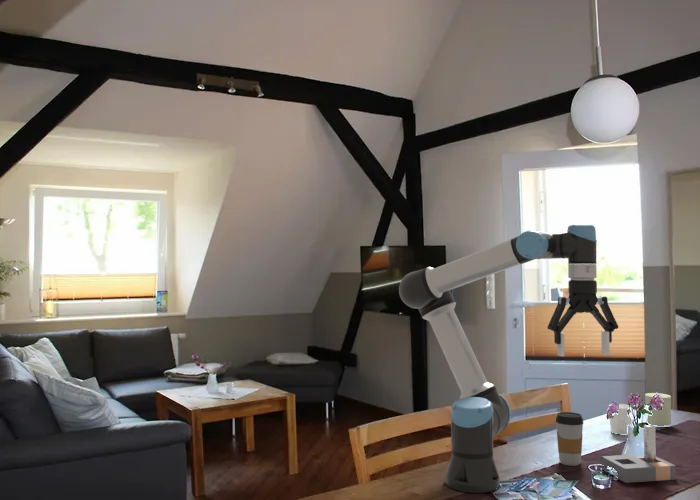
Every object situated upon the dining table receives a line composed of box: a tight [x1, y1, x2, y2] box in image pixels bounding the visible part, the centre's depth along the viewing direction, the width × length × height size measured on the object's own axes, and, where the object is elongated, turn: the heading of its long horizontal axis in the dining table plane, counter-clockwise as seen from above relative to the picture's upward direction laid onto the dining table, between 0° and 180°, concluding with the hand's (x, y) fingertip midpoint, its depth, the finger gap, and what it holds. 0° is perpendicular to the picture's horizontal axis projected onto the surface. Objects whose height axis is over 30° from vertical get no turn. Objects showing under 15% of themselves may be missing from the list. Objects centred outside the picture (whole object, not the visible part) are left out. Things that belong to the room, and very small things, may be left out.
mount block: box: [601, 454, 677, 484], centre depth 191 cm, size 16×12×4 cm
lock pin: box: [643, 424, 657, 463], centre depth 192 cm, size 3×3×14 cm
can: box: [644, 392, 672, 426], centre depth 249 cm, size 9×9×12 cm
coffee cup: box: [555, 411, 584, 466], centre depth 202 cm, size 8×8×15 cm
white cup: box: [608, 403, 633, 434], centre depth 237 cm, size 8×8×10 cm
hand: (583, 355), depth 181 cm, fingers open, 13 cm apart
